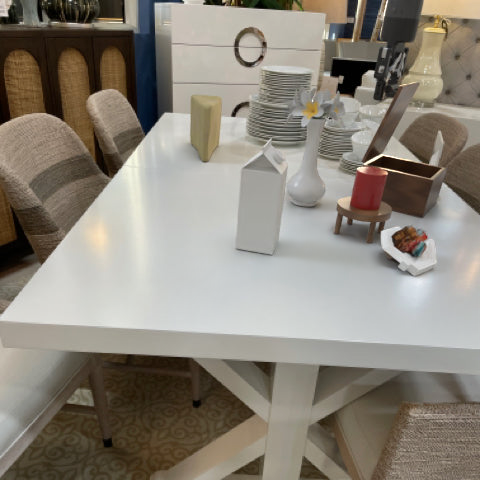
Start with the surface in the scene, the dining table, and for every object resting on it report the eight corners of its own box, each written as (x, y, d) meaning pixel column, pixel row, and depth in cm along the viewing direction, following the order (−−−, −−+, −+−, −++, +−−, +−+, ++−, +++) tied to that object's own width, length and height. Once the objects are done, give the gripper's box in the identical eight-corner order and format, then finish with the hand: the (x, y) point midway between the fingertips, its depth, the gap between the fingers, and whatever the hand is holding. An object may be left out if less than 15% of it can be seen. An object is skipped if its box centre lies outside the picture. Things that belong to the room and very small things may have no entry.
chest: (436, 203, 120) (447, 168, 115) (422, 218, 110) (433, 180, 105) (373, 188, 127) (380, 154, 122) (354, 200, 117) (362, 164, 112)
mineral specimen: (389, 231, 96) (408, 203, 91) (437, 266, 92) (459, 238, 87) (360, 252, 88) (378, 223, 83) (411, 291, 85) (432, 262, 80)
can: (383, 205, 97) (392, 171, 93) (373, 212, 93) (382, 177, 89) (356, 198, 100) (363, 164, 96) (345, 205, 95) (352, 170, 92)
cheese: (221, 163, 137) (224, 107, 129) (188, 161, 136) (188, 105, 128) (219, 144, 155) (222, 94, 147) (190, 143, 154) (190, 92, 146)
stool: (391, 232, 101) (399, 205, 98) (374, 248, 93) (381, 219, 90) (344, 218, 106) (349, 192, 103) (324, 233, 98) (329, 205, 95)
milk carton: (235, 249, 88) (242, 144, 78) (243, 235, 94) (251, 135, 84) (272, 255, 87) (284, 150, 77) (278, 241, 93) (291, 140, 83)
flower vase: (321, 190, 122) (339, 83, 108) (335, 217, 106) (358, 96, 93) (271, 187, 121) (283, 79, 107) (278, 213, 106) (293, 91, 92)
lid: (420, 82, 110) (402, 73, 111) (403, 87, 100) (383, 77, 101) (382, 153, 122) (366, 144, 123) (363, 163, 112) (346, 153, 113)
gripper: (410, 16, 94) (390, 104, 103) (428, 18, 104) (408, 98, 113) (374, 13, 97) (357, 99, 106) (395, 15, 107) (378, 93, 116)
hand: (384, 98), depth 110 cm, fingers open, 8 cm apart
